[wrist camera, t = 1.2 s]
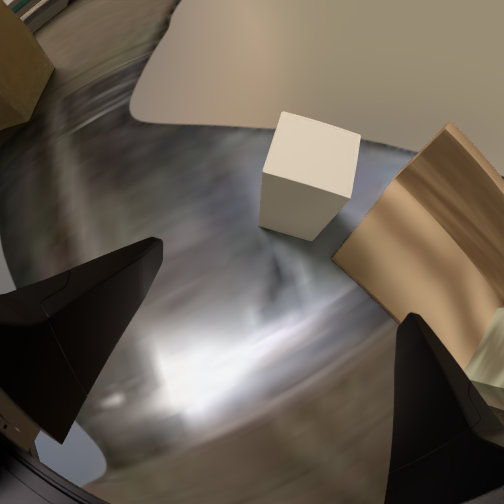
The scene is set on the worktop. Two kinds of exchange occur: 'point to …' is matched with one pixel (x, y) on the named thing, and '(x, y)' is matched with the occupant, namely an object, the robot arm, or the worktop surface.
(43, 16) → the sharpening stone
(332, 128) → the bookend
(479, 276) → the wooden stand
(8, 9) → the caddy
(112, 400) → the worktop surface
